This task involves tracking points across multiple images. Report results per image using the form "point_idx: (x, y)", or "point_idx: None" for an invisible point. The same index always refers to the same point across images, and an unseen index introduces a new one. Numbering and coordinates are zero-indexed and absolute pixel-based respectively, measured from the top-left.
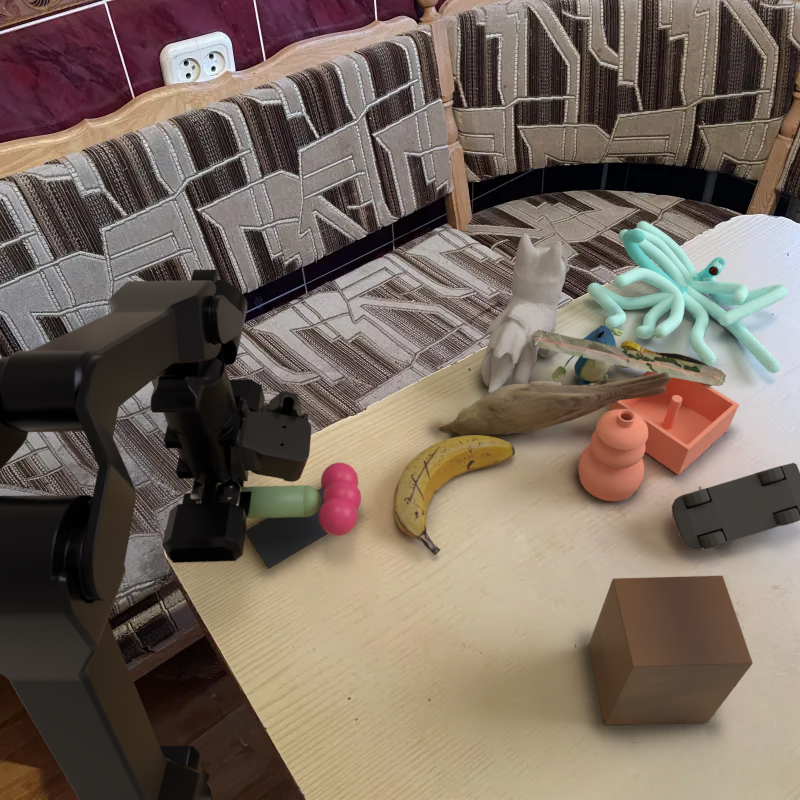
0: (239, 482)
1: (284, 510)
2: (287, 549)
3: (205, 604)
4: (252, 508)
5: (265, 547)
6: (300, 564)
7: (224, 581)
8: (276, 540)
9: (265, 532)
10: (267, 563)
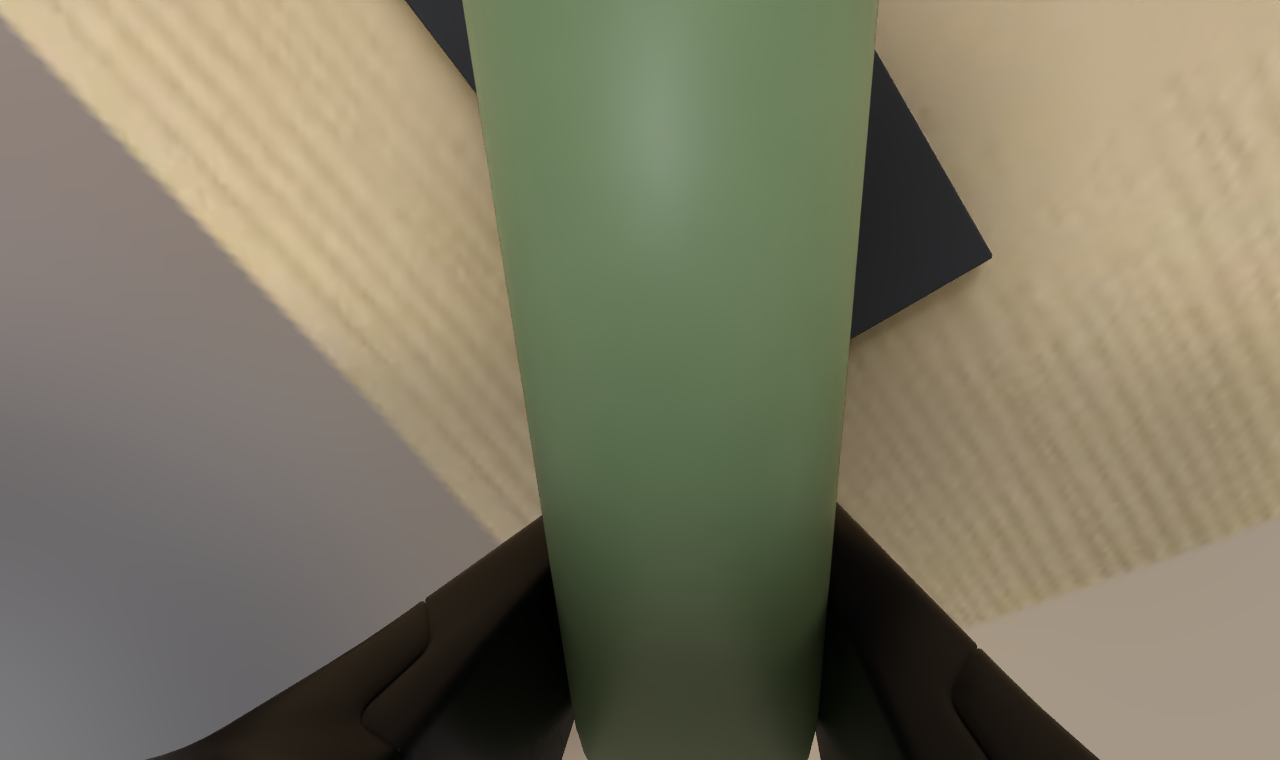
0: (520, 638)
1: (857, 151)
2: (873, 144)
3: (1140, 544)
4: (818, 516)
5: None
6: (987, 35)
7: (1016, 473)
8: None
9: None
10: (964, 264)
